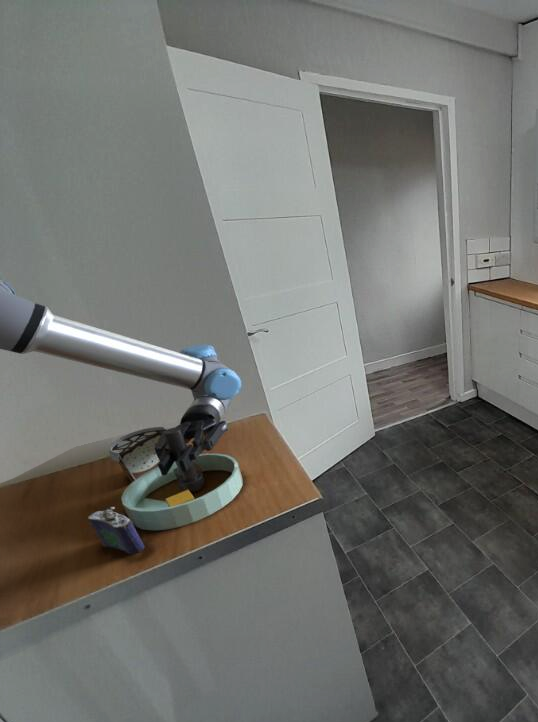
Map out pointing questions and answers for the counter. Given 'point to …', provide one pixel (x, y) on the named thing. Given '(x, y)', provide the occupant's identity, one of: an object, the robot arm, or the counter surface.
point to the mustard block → (179, 498)
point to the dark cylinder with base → (188, 478)
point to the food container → (137, 452)
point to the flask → (116, 531)
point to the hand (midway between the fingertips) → (172, 467)
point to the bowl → (164, 517)
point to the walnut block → (197, 468)
